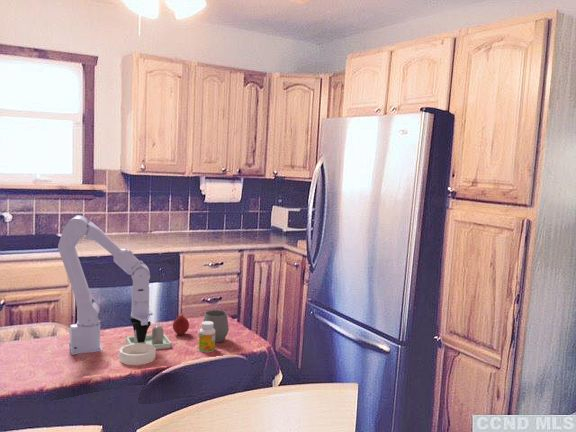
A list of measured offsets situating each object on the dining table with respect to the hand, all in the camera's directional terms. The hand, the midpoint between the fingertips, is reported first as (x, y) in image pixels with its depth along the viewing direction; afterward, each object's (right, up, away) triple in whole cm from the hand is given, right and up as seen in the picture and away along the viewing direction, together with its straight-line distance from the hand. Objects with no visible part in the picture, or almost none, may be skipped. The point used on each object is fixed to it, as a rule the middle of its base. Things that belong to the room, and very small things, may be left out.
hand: (139, 339), depth 183 cm
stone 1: (0, -2, 0) cm, 2 cm away
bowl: (+2, -4, -11) cm, 12 cm away
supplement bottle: (+23, -4, -1) cm, 23 cm away
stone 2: (+5, -2, +3) cm, 6 cm away
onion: (+11, -2, +14) cm, 18 cm away
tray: (+3, -2, +2) cm, 4 cm away
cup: (+24, -3, +10) cm, 26 cm away
